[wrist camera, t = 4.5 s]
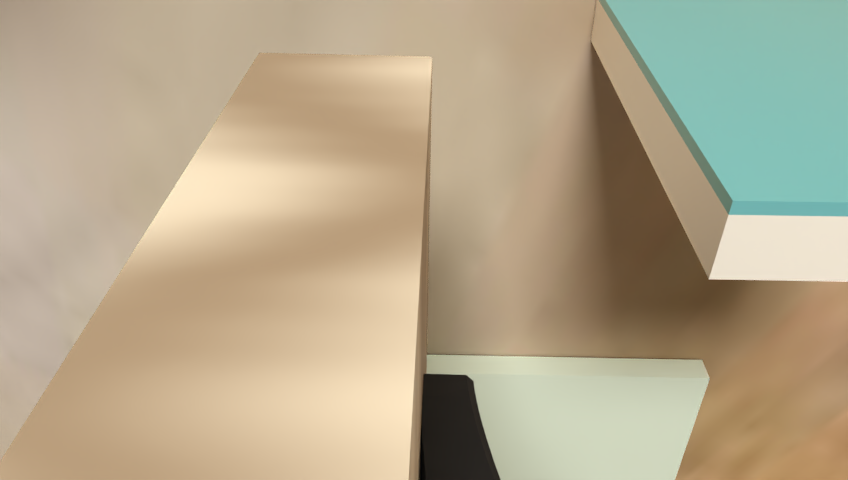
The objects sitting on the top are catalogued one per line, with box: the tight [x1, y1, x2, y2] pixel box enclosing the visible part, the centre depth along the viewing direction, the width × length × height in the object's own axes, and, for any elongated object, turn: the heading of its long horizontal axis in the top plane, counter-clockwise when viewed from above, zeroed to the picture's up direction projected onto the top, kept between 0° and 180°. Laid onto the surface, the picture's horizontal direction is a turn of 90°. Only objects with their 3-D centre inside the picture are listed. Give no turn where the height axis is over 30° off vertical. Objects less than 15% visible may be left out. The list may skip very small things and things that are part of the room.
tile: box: [591, 0, 848, 282], centre depth 12 cm, size 6×1×9 cm, turn 90°
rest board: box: [426, 355, 710, 480], centre depth 24 cm, size 12×7×1 cm, turn 90°
